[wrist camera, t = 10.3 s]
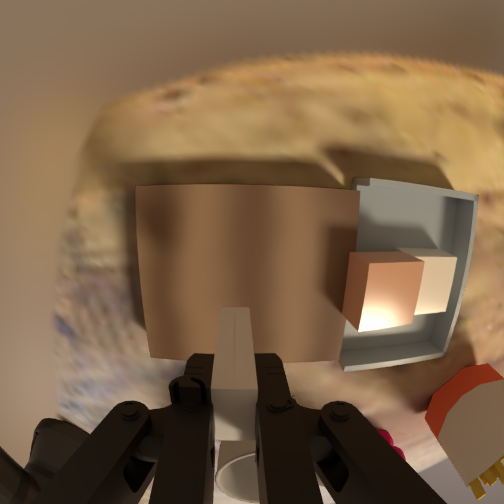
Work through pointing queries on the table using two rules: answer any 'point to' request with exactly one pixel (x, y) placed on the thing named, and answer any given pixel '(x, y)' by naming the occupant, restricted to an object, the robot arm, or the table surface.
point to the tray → (411, 236)
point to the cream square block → (433, 279)
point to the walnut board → (245, 265)
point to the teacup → (239, 470)
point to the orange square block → (381, 289)
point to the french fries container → (471, 424)
